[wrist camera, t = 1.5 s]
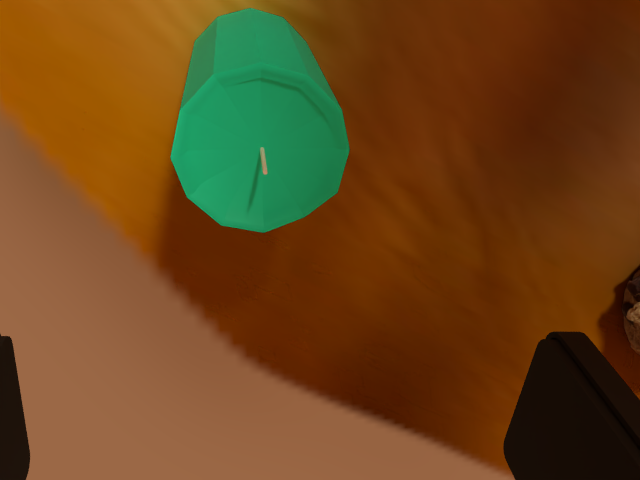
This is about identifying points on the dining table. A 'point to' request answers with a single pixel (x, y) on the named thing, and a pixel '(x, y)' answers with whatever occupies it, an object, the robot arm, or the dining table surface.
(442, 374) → the dining table surface
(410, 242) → the dining table surface
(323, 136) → the candle
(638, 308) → the bread roll
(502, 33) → the dining table surface
